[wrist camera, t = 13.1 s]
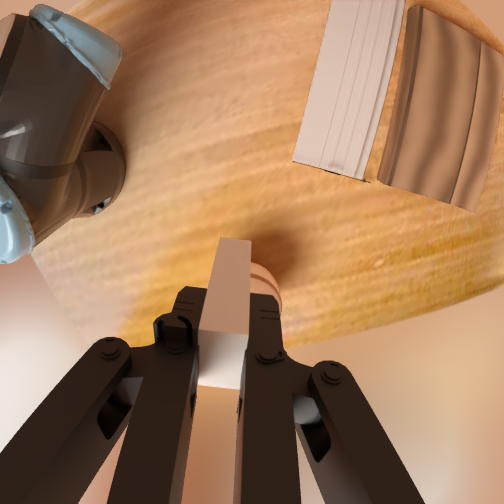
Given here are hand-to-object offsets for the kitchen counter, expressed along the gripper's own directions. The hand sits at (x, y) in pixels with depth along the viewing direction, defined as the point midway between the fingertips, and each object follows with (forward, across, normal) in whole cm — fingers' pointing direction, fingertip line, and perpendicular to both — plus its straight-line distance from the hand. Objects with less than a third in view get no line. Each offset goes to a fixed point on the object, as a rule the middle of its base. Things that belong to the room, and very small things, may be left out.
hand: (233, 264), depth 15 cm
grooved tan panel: (+28, -29, -14) cm, 43 cm away
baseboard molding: (+30, -14, -16) cm, 36 cm away
